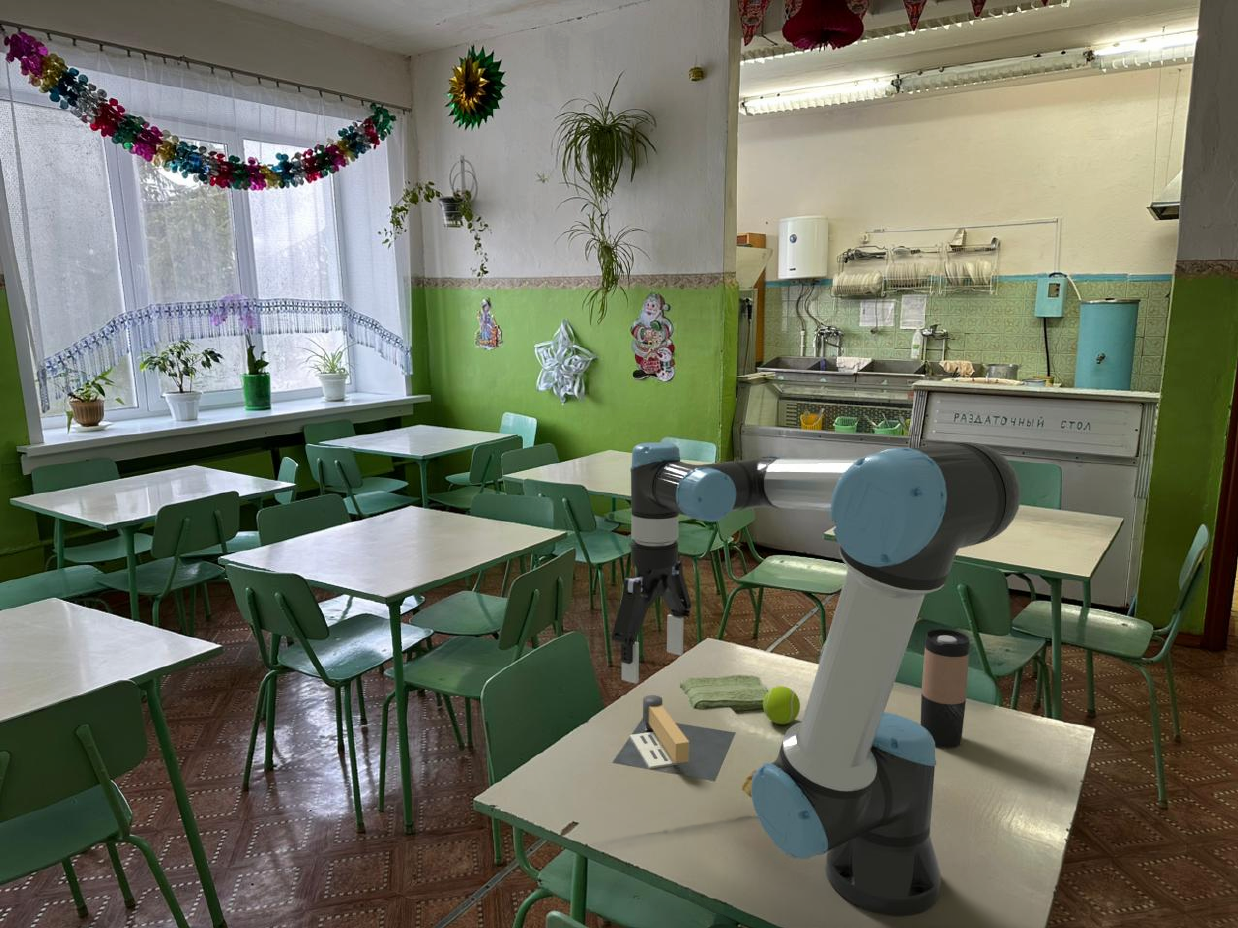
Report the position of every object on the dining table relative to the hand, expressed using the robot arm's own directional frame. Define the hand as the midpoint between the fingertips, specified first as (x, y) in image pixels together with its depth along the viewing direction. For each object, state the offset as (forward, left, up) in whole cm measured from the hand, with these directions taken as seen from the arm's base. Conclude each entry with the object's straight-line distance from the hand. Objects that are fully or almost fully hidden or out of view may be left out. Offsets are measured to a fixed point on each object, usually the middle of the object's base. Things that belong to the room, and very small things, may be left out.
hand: (653, 666), depth 136 cm
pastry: (+2, -19, -21) cm, 29 cm away
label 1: (+11, +4, -20) cm, 23 cm away
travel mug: (+32, -46, -21) cm, 60 cm away
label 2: (+6, +1, -20) cm, 21 cm away
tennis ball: (+29, -17, -21) cm, 40 cm away
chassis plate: (+11, -1, -21) cm, 24 cm away
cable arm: (+11, +1, -18) cm, 21 cm away
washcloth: (+36, -5, -21) cm, 42 cm away
